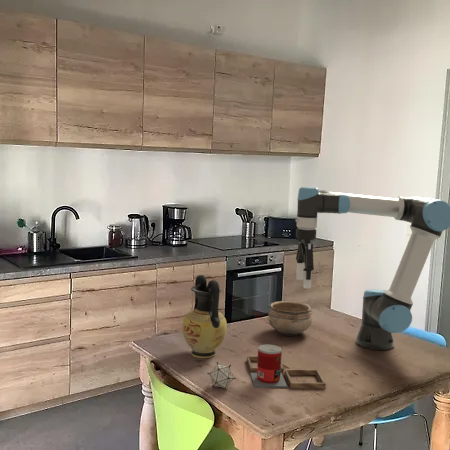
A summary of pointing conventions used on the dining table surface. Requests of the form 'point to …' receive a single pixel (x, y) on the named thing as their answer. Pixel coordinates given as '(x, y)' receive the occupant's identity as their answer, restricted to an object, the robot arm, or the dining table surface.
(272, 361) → the canned food
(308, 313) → the cooking pot
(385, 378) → the dining table surface
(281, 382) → the slate board
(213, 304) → the amphora
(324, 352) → the dining table surface
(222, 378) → the game die
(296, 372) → the empty crate
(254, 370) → the frame
